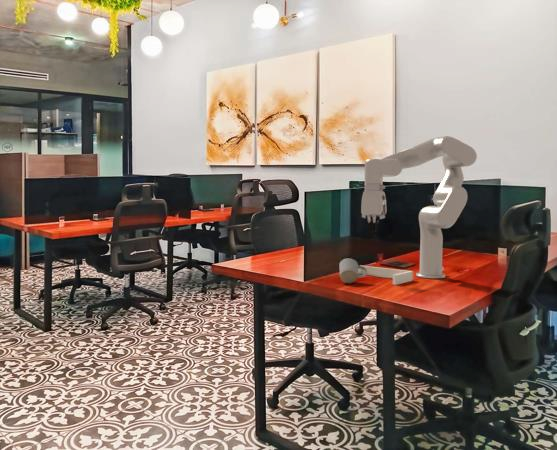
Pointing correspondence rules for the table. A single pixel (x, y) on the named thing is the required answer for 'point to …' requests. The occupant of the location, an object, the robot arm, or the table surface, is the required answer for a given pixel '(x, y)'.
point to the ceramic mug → (350, 270)
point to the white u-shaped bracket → (389, 274)
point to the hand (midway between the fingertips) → (373, 231)
